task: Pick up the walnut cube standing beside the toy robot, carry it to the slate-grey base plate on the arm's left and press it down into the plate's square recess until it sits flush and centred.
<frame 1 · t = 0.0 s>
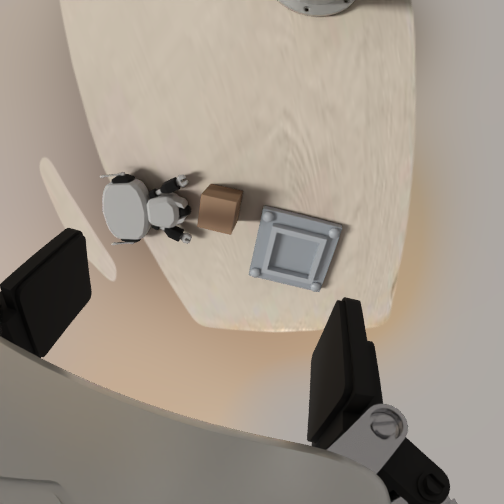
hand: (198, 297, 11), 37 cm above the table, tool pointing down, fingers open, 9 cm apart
robot toy: (152, 203, 51), on the table
base plate: (293, 249, 51), on the table
walnut cube: (224, 202, 49), on the table
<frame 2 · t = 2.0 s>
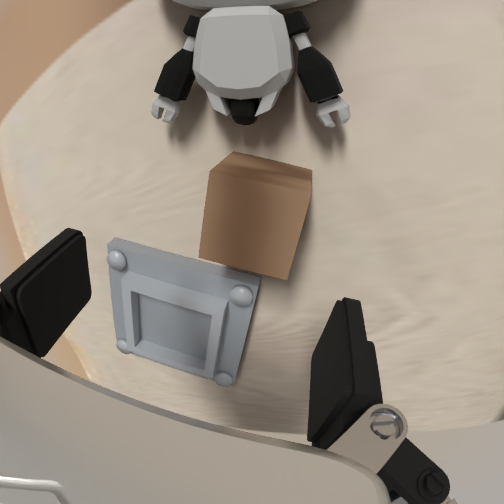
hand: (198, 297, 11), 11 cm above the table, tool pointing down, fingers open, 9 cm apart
robot toy: (254, 7, 15), on the table
base plate: (178, 315, 27), on the table
walnut cube: (264, 196, 21), on the table
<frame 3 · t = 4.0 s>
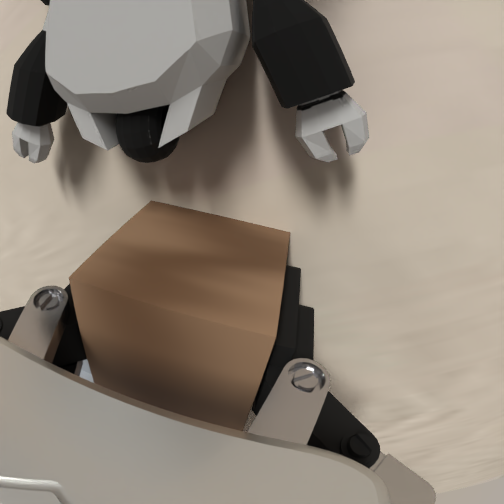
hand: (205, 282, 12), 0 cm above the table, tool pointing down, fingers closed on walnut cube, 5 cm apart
walnut cube: (209, 274, 12), on the table, touching gripper
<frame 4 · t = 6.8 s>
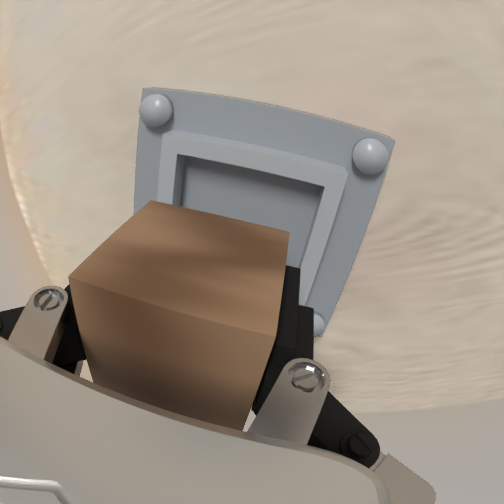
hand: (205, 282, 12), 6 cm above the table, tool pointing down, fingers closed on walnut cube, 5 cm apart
base plate: (246, 215, 17), on the table
walnut cube: (209, 274, 12), point 6 cm above the table, touching gripper
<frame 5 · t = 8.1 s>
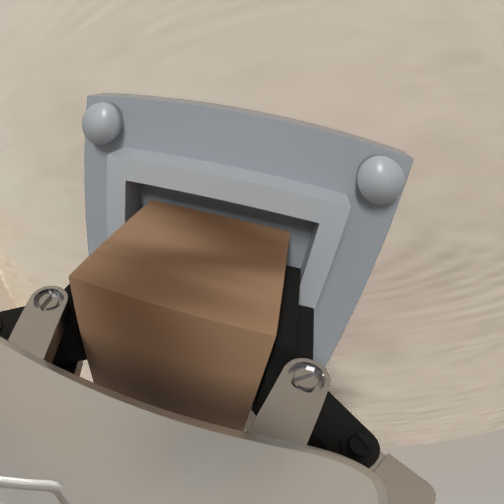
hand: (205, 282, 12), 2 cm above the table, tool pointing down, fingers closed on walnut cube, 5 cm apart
base plate: (220, 250, 14), on the table
walnut cube: (209, 274, 12), point 2 cm above the table, touching gripper
when the fingers open (2 cm above the table, at t = 9.6 s): walnut cube stays where it is, resting on base plate.
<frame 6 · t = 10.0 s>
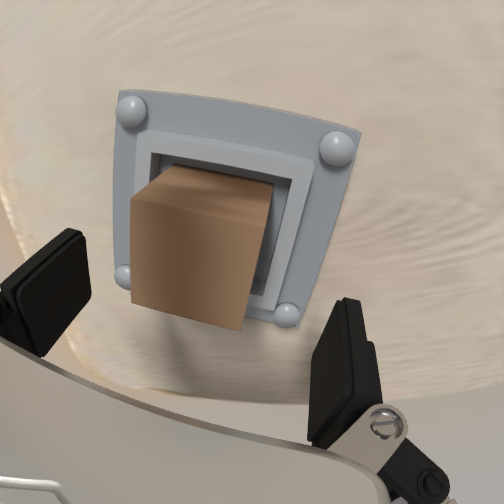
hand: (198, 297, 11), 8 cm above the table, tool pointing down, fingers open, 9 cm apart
base plate: (219, 210, 18), on the table
walnut cube: (215, 218, 17), point 1 cm above the table, touching base plate
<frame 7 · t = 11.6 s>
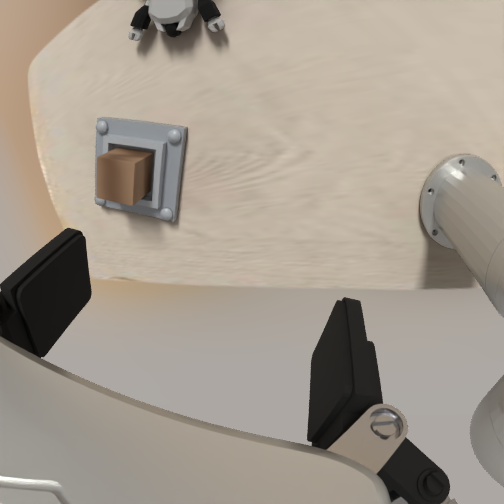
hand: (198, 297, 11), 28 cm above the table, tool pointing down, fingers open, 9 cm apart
base plate: (138, 166, 39), on the table
walnut cube: (134, 168, 38), point 1 cm above the table, touching base plate
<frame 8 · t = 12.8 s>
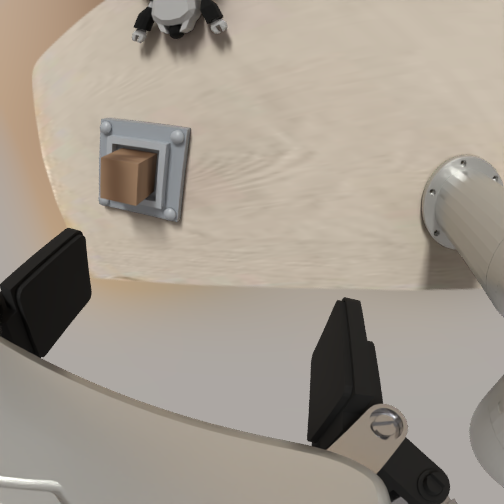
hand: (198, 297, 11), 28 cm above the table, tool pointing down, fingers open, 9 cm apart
base plate: (142, 167, 39), on the table
walnut cube: (138, 169, 38), point 1 cm above the table, touching base plate
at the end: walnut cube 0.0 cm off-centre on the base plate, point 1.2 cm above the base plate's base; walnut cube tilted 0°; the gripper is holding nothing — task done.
